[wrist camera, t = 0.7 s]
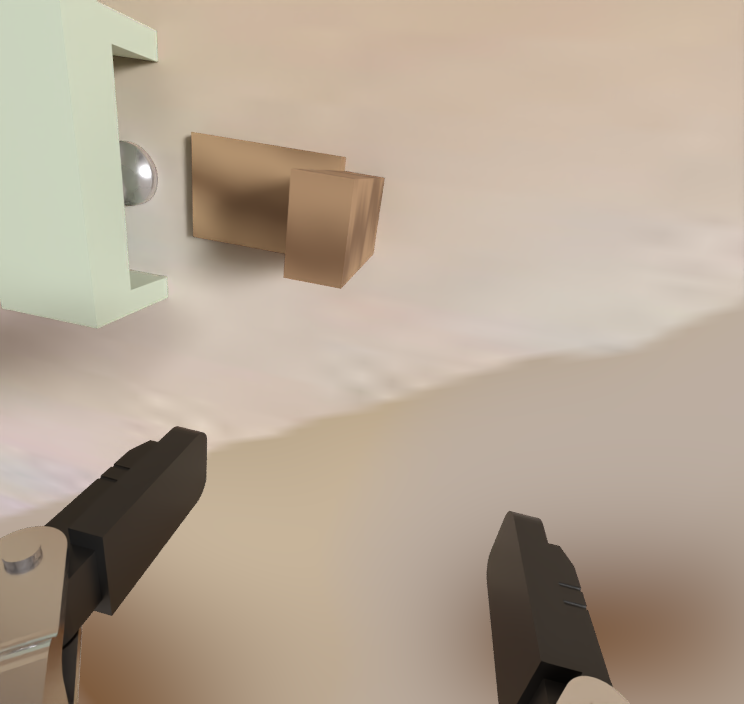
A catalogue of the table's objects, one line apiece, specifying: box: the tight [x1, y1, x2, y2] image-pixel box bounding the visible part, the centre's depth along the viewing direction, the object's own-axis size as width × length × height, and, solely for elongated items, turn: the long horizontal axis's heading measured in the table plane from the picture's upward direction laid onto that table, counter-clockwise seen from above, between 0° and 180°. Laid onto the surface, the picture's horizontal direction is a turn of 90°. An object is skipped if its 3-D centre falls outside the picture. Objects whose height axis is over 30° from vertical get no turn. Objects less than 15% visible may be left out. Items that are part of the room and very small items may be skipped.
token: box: [119, 141, 158, 205], centre depth 36 cm, size 5×5×1 cm
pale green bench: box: [0, 0, 168, 328], centre depth 33 cm, size 21×8×9 cm, turn 171°
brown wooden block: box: [191, 132, 385, 289], centre depth 30 cm, size 8×15×12 cm, turn 81°
